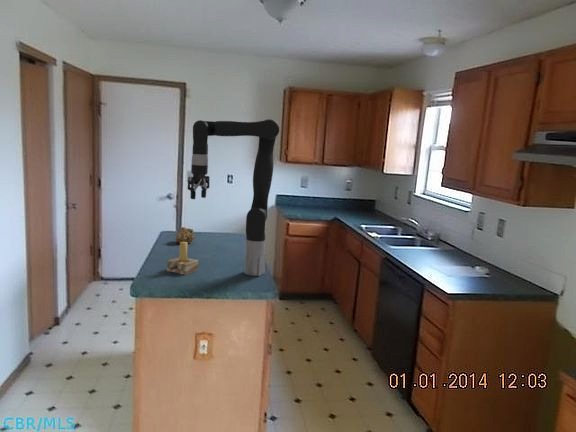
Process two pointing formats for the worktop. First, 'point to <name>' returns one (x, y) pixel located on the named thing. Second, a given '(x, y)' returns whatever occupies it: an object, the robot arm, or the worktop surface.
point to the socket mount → (182, 266)
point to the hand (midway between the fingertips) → (198, 198)
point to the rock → (185, 235)
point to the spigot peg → (183, 252)
